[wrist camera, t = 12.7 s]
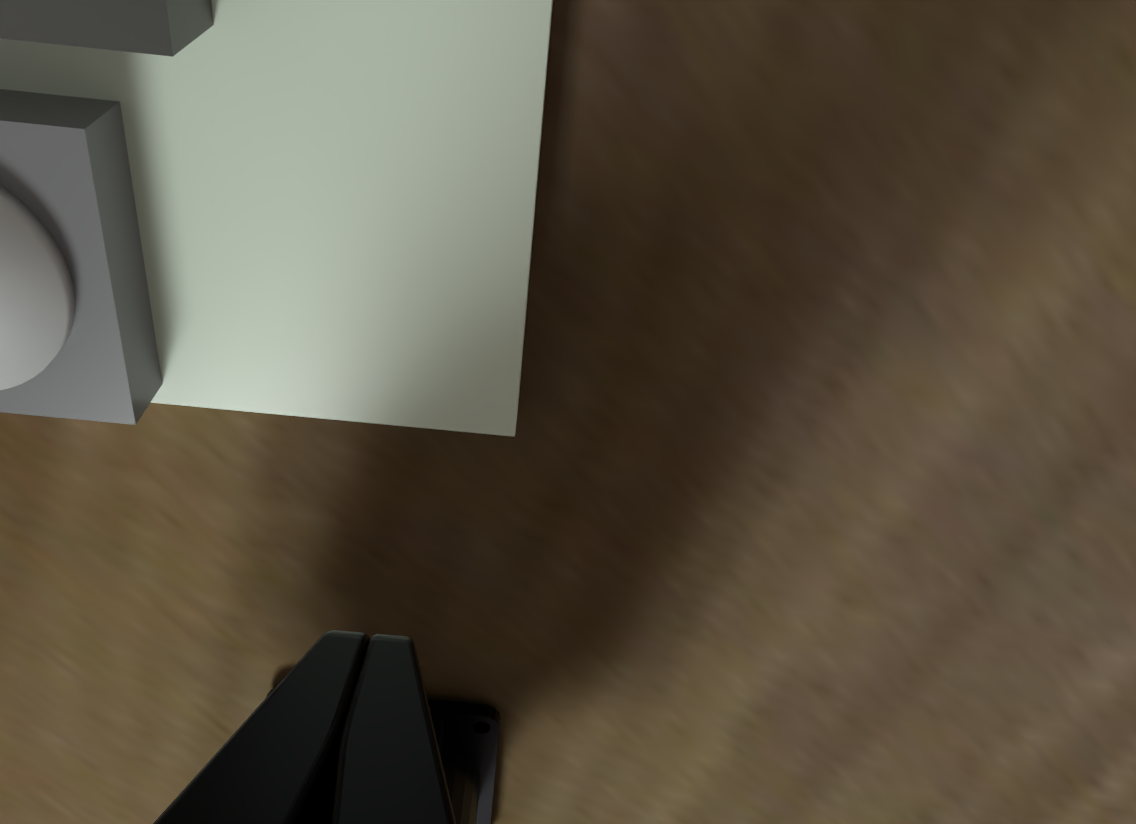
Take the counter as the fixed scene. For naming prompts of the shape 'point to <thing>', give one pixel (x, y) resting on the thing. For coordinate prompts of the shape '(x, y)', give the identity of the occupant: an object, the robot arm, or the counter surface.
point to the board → (269, 207)
